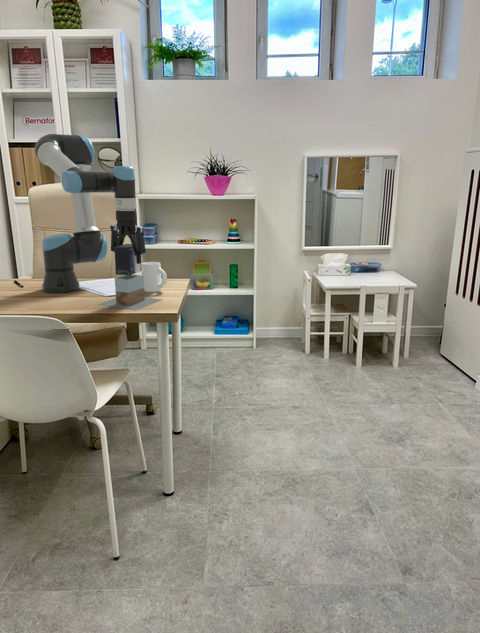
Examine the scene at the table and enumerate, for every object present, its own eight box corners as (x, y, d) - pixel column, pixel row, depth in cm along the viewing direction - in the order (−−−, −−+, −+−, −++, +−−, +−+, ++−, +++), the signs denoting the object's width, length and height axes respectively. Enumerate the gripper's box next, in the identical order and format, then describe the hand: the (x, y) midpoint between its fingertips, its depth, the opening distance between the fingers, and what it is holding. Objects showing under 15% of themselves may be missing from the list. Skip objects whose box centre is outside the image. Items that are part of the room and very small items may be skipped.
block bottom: (116, 303, 184) (115, 291, 182) (132, 298, 192) (131, 286, 191) (129, 305, 181) (128, 292, 180) (144, 300, 190) (144, 287, 189)
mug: (160, 294, 200) (159, 266, 197) (138, 291, 206) (137, 263, 202) (172, 291, 207) (171, 263, 204) (150, 287, 213) (149, 261, 209)
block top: (115, 291, 182) (114, 278, 181) (131, 286, 191) (131, 273, 190) (128, 292, 180) (127, 279, 178) (144, 287, 189) (143, 275, 187)
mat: (96, 305, 183) (96, 304, 183) (126, 295, 198) (126, 294, 198) (135, 311, 175) (135, 310, 175) (163, 300, 191) (163, 299, 191)
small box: (131, 275, 178) (129, 247, 175) (115, 275, 179) (112, 247, 176) (142, 270, 188) (141, 243, 185) (127, 270, 189) (125, 243, 186)
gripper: (97, 209, 178) (101, 270, 184) (142, 211, 170) (144, 275, 176) (111, 208, 184) (114, 267, 191) (154, 210, 176) (156, 271, 183)
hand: (129, 271), depth 183 cm, fingers closed on small box, 7 cm apart
